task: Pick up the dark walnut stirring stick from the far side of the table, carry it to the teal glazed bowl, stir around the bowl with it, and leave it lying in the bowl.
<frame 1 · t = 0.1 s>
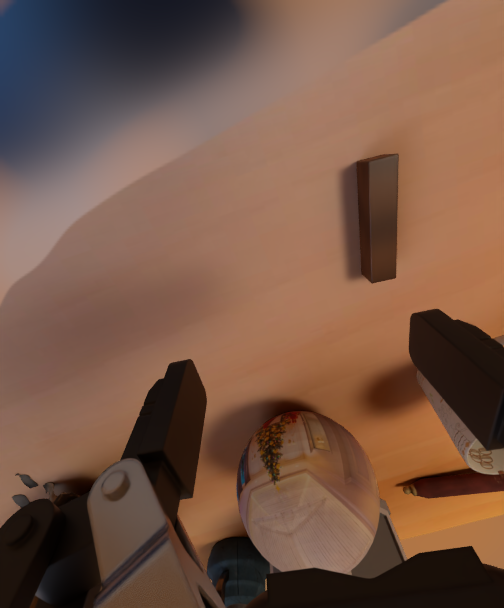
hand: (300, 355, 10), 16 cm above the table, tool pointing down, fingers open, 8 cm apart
mug: (451, 354, 32), on the table
gavel: (466, 470, 43), on the table
vase: (99, 505, 44), on the table
lantern: (239, 548, 53), on the table
stick: (371, 220, 24), on the table
ornament: (293, 424, 37), on the table
alarm clock: (324, 502, 46), on the table
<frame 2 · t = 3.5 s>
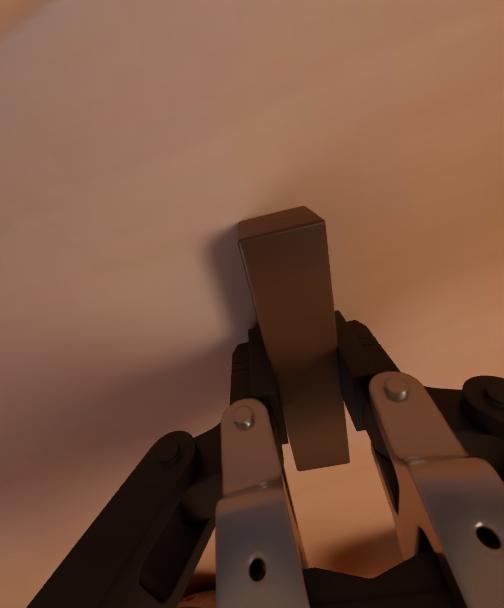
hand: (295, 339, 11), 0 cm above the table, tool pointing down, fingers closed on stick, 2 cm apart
stick: (295, 337, 11), on the table, touching gripper
ornament: (214, 591, 24), on the table
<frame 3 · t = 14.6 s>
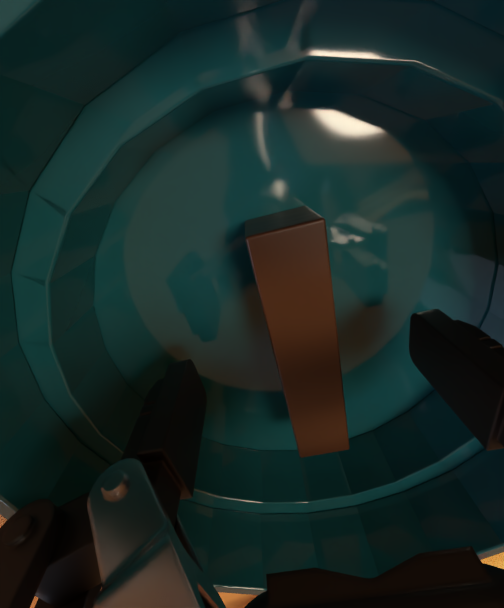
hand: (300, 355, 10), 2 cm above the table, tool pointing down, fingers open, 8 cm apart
bowl: (291, 322, 12), on the table
stick: (297, 330, 12), point 1 cm above the table, touching bowl
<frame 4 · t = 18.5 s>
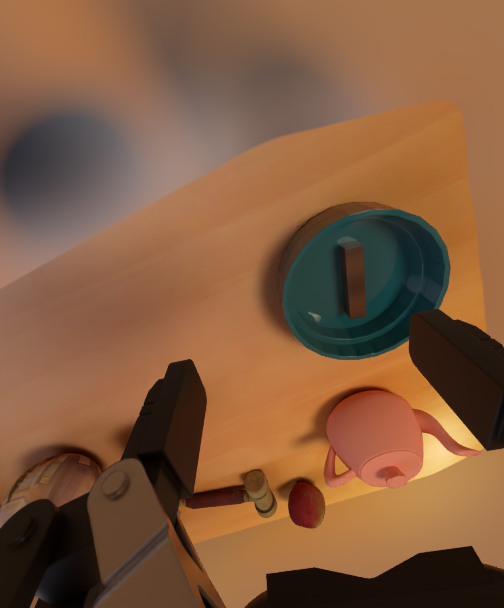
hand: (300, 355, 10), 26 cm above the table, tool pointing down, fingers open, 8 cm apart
apple: (302, 483, 60), on the table
gavel: (225, 488, 60), on the table
bowl: (347, 276, 37), on the table
stick: (349, 278, 36), point 1 cm above the table, touching bowl
ornament: (79, 459, 54), on the table
teapot: (367, 410, 50), on the table
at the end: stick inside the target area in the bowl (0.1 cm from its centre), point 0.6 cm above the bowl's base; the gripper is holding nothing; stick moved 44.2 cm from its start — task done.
